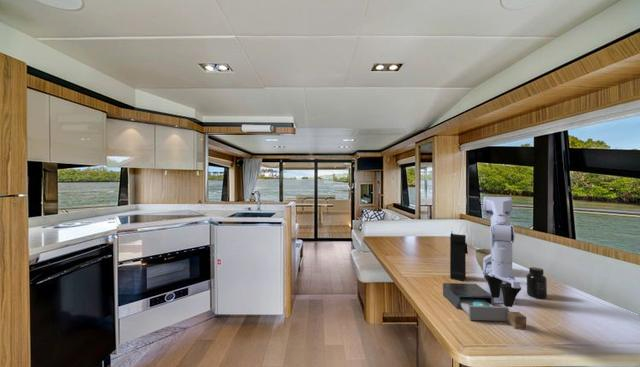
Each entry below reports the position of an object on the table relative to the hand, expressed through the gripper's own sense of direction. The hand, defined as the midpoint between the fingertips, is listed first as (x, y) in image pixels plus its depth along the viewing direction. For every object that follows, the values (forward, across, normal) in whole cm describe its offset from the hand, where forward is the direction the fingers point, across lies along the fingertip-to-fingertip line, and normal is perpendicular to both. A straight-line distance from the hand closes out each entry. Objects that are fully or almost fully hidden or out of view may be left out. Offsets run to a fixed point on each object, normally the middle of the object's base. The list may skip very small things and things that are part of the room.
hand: (501, 301), depth 88 cm
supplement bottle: (+10, -30, +33) cm, 45 cm away
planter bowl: (+10, -62, +33) cm, 71 cm away
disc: (+8, -10, -1) cm, 13 cm away
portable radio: (+10, -50, +9) cm, 51 cm away
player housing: (+9, -20, -1) cm, 23 cm away
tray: (+9, -12, -1) cm, 16 cm away
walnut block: (+9, -3, +7) cm, 12 cm away
